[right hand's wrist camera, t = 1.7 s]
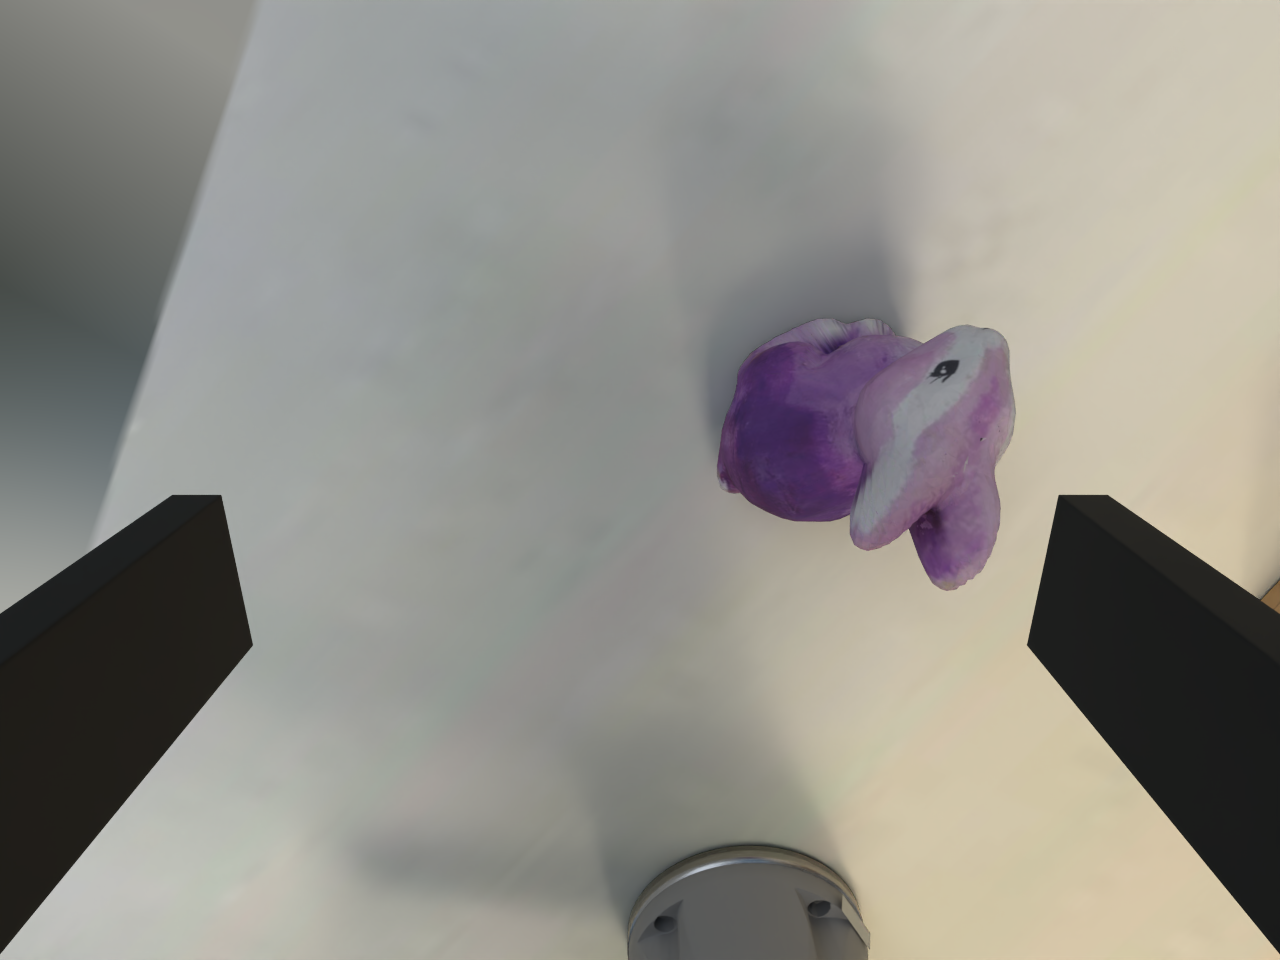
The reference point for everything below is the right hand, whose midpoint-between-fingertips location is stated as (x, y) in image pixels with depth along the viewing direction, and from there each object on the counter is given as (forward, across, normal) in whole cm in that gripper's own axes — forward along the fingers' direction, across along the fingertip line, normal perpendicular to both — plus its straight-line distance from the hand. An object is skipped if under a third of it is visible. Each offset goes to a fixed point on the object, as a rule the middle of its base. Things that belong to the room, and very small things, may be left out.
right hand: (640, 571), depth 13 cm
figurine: (+26, -9, +4) cm, 27 cm away
